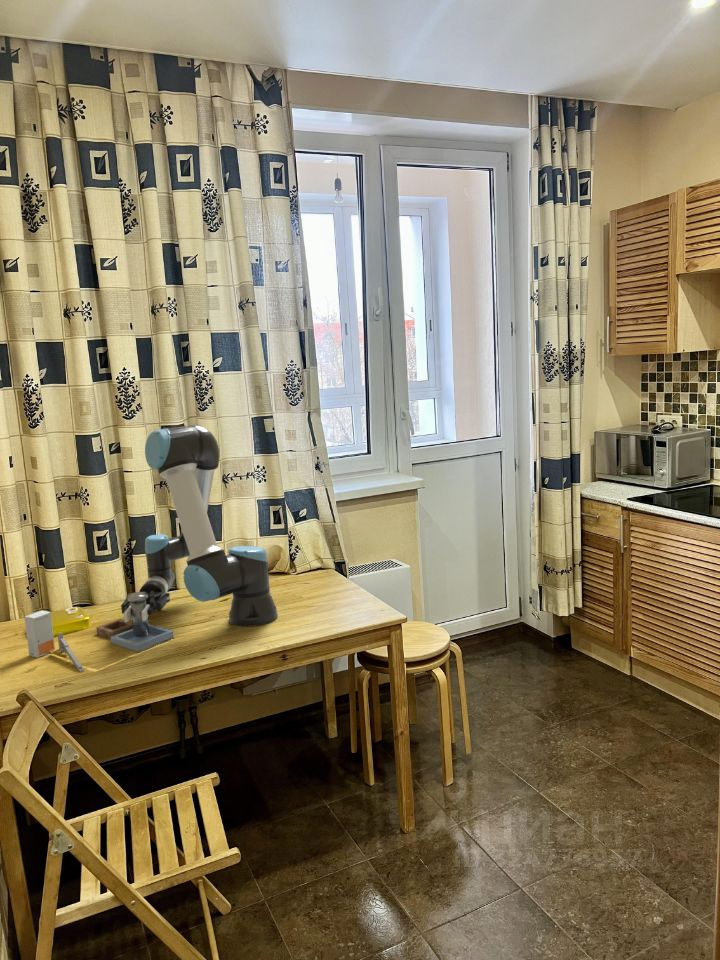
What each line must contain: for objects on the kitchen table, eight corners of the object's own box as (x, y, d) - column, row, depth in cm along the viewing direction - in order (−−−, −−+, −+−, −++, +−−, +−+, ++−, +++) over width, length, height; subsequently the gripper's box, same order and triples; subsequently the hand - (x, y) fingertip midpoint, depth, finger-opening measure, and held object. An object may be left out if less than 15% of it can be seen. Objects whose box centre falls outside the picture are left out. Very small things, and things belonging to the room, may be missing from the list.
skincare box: (38, 658, 213) (32, 618, 211) (28, 656, 215) (23, 616, 213) (56, 650, 218) (51, 611, 216) (47, 648, 220) (42, 609, 218)
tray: (173, 638, 222) (173, 631, 221) (137, 653, 212) (136, 645, 212) (147, 630, 230) (146, 623, 229) (111, 644, 220) (110, 637, 219)
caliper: (59, 652, 217) (56, 631, 216) (63, 651, 218) (60, 630, 217) (80, 673, 201) (77, 651, 200) (84, 672, 202) (81, 650, 201)
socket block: (136, 631, 229) (136, 623, 229) (113, 640, 223) (112, 632, 223) (120, 626, 235) (119, 619, 234) (97, 635, 228) (96, 627, 228)
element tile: (32, 629, 239) (30, 614, 238) (81, 618, 247) (79, 604, 246) (42, 642, 226) (40, 627, 225) (92, 630, 234) (90, 615, 233)
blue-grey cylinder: (155, 633, 221) (151, 593, 219) (139, 639, 217) (135, 599, 215) (143, 629, 224) (139, 590, 222) (127, 635, 220) (123, 596, 218)
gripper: (181, 600, 238) (166, 627, 215) (127, 604, 237) (105, 631, 214) (179, 578, 237) (163, 602, 214) (124, 581, 236) (102, 606, 213)
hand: (134, 617), depth 214 cm, fingers closed on blue-grey cylinder, 4 cm apart
